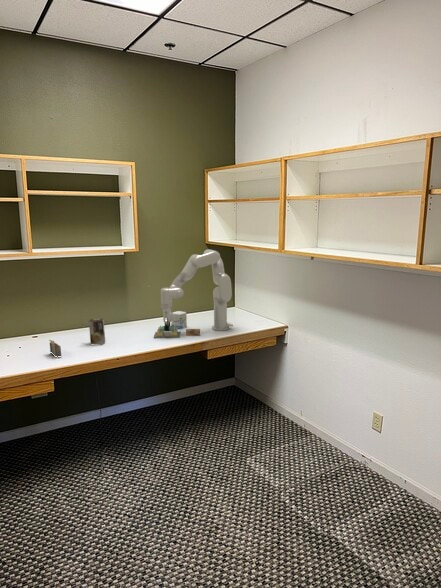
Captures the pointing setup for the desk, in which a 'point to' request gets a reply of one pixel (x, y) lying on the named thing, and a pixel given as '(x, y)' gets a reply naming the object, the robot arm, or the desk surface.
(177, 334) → the chassis
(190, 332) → the block
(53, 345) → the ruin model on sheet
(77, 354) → the desk surface
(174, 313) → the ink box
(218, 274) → the robot arm
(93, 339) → the coffee box
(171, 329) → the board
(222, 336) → the desk surface
